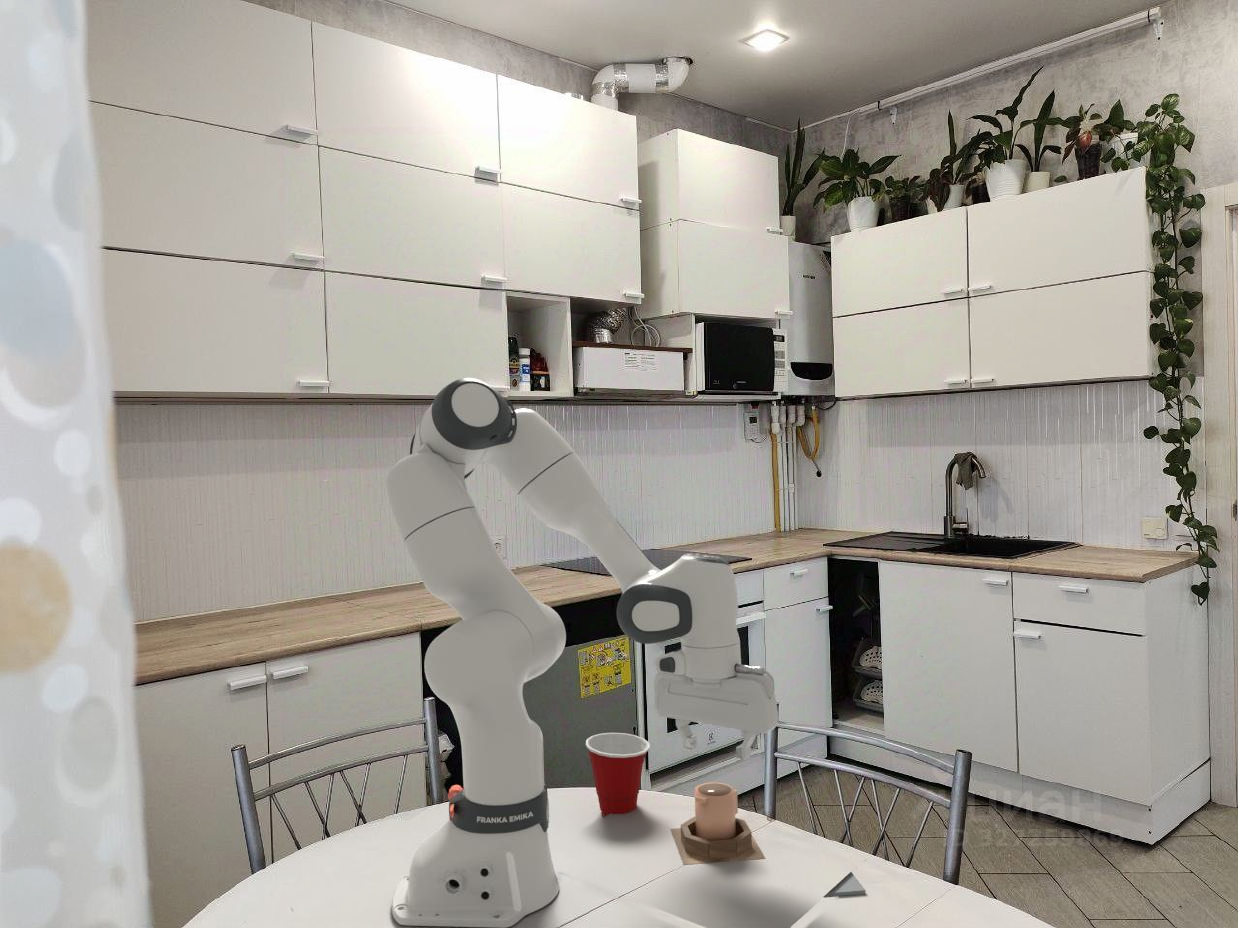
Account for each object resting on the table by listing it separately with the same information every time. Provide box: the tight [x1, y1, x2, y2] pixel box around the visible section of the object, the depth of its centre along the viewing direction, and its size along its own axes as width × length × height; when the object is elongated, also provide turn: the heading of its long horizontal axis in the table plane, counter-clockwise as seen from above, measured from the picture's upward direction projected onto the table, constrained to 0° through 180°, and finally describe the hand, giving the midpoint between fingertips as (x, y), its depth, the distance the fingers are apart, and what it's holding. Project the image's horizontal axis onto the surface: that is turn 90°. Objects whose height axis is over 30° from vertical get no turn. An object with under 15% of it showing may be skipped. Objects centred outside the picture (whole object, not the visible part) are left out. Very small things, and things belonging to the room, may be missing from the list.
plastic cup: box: [585, 732, 651, 817], centre depth 146 cm, size 11×11×12 cm
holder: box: [670, 816, 766, 866], centre depth 132 cm, size 12×12×3 cm
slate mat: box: [823, 871, 866, 898], centre depth 122 cm, size 10×10×1 cm
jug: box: [694, 782, 739, 841], centre depth 132 cm, size 9×6×8 cm, turn 140°
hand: (716, 752), depth 132 cm, fingers open, 8 cm apart
